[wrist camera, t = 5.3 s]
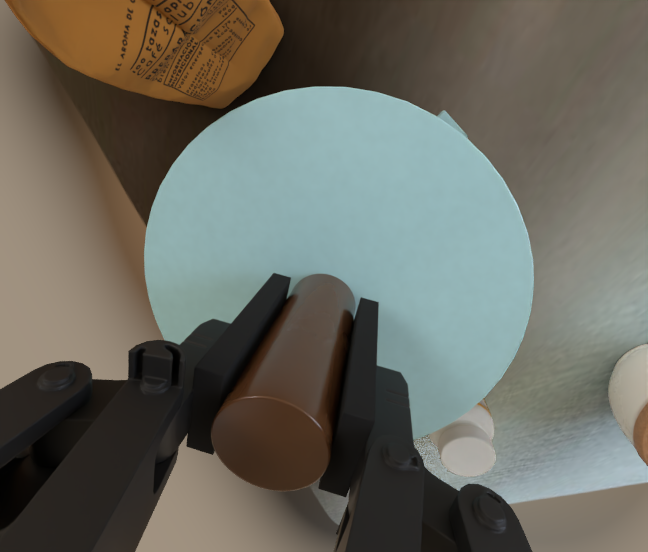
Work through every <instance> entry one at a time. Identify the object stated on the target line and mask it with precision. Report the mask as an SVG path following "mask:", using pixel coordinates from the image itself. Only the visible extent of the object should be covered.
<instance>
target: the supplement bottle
mask: <svg viewBox="0 0 648 552" xmlns="http://www.w3.org/2000/svg"><path fill="white" fill-rule="evenodd" d="M494 432H495V428H494V422H493V419H492V416H491V414H490V412H489V409H488V407H487V404H486V402H485V399H484V398H483V399H482V400H481V401H480V402H479V403H477V404H476V405H475V406H474V407H473V408H472V409H471V410H470V411H468V412H467V413H465V414H464V415H462V416H461V417H459V418H458V419H457V420H455V421H454V422H452V423H451V424H449V425H447V426H445V427H443V428H441V429H439V430H437V431H435V432H433V433H431V434H429V437H430V439H431V441H432V442H433V443H434V444H435V445H436V446H437V447H438V450H439V454H440V458H441V461H442V463H443V465H444V466H445V467H446V468H447V469H448V470H449V471H451V472H452V473H454V474H457V475H460V476H466V477H473V476H479V475H482V474H484V473H486V472H488V471H489V470H490V469H491V468H492V467H493V466H494V464H495V461H496V453H495V450H494V447H493V444H492V440H493V437H494Z"/></svg>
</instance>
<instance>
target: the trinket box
mask: <svg viewBox="0 0 648 552" xmlns="http://www.w3.org/2000/svg"><path fill="white" fill-rule="evenodd" d="M608 398H609V402H610V407H611V410H612V413H613V415H614V417H615V419H616V421H617V423H618V425H619V427H620V428H621V430H622V432H623V433H624V435H625V436H626V437H627V439H628V440H629V441H630V442H631V444H632V445H633V446H634V448H635V449H636V450H637V452H638V454H639V456H640V457H641V458H642V460H643V461H644V462H645V463H646V465H647V466H648V343H647V344H643V345H640V346H638V347H635V348H633V349H631V350H630V351H628V352H627V353H625V354H624V355H623V356H622V357H621V358H620V359H619V360H618V362H617V363H616V365H615V367H614V370H613V373H612V375H611V378H610V381H609V386H608Z"/></svg>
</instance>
